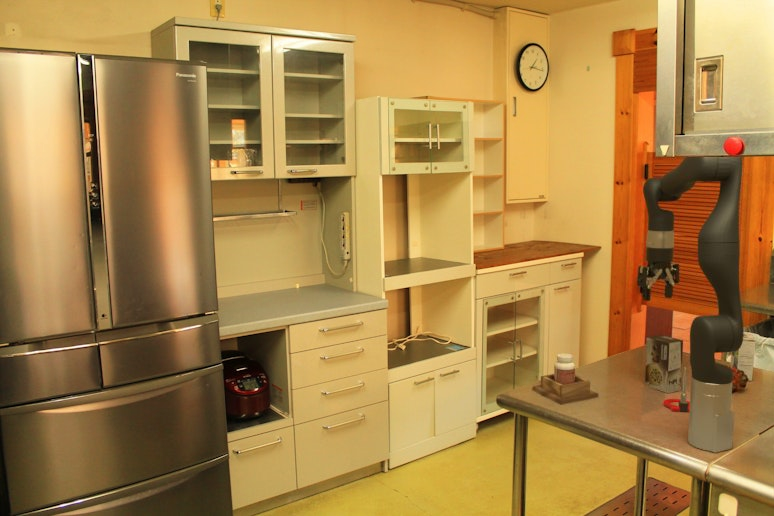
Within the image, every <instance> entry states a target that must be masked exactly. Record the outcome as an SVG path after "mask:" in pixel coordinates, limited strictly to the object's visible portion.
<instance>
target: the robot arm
mask: <svg viewBox="0 0 774 516" xmlns="http://www.w3.org/2000/svg"><path fill="white" fill-rule="evenodd" d="M742 174H743V156H742V157H734V158H733V157H686V156H685V157H684V158H683V160H682V161H681V162H680V163H679V164H678V166H676V167H675V168H674V169H672V170H670V171H668V172H667V173H665V174H664V175H663V176H661V177H651V178H647V180H645V182H644V183H643V185H642V193H643V197H644V202H645V204H646V209H647V216H648V217H647V220H648V222H647V235H646V248H645V250H646V251H645V261H646V262H647V264H646V266H643V265H639V266H638V269H637V280H636V281H637V282H636V286H638V287H641V288H642V297H641V298H642V300H643V301H645V302H650V301H651V296H652V295H651V294H652V293H651V291H652V289H651V287H652V286H653V284H655V283H656V282H657V281H660V280H662V281H663V282H664V284H665V285H664V298H665V299H666V298H667V299H672V297H673V295H674V286H675V285H676V284H679V283H680V264H679V263H677V262H676V263H675V262H673V261H674V248H675V234H674V232H675V230H674V229H675V214H674V211H672V210H669V209H663V208H661V207H660V206H659V203H666V202H667V203H668V202H669V203H671V202H677V201H679V200H680V199H681V197H682V195H683V194H684V193H686V192H688V191H690V190H691V189H692V188H694V186H695V185H696V183H697V182H702V183H718V182H719V183H720V184H719V193H718V197H717V201H716V204H715V206H714V207H713V209H712V210H711V212H710V214H709V216H708V217H707V219H706V220H705V221H704V223H703V224H702V226H701V228H700V230H699V232H698V235H697V262H698V263H697V264H698V265H699V268H700V270H701V271H702V273H703V276H705V278H706V279H707V281H708V282H709V284H710V286H711V287H712V288H713V290H714V293H715V296H716V299H717V305H718V306H717V307H718V314H717V315H716V314H712V315H710V314H709V315H699V316H696V317H695V318H694V319H693V320H692V322H691V324H690V328H689V329H690V330H689V364H690V369H691V380H690V381H691V382H690V395H689V396H690V397H689V402H690V412H688V415H689V416H688V435H687V442H688V443H689V444H690V445H691V446H692V447H694V448H697V449H700V450H704V451H708V452H713V453H720V452H723V451H727V450H728V451H729V450H731V449H733V440H734V439H733V438H734V425H735V424H734V422H735V412H734V411H732V398H733V397H732V393H733V391H732V382H733V371H732V370H731V369H730V368H729V367H730V366H728V365H726V364H725V365H726V366H725V365H724V364H722V363H719V362H716V357H715V354H716V353H717V354H718V353H719V354H720V353H731V352H734V351H737V350H738V349H740V347H741V345H742V342H743V333H744V321H743V320H744V319H743V311H742V303H741V291H740V290H741V289H740V286H741V285H740V255H741V251H740V247H741V246H740V243H741V241H740V199H741V198H740V197H741V188H742V187H741V185H742V176H743V175H742ZM727 366H728V367H727Z"/></svg>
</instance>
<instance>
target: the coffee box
mask: <svg viewBox="0 0 774 516" xmlns="http://www.w3.org/2000/svg"><path fill="white" fill-rule="evenodd" d="M683 350H684V340H683V339H680V338H675V337H671V336H667V335H664V334H655V335H652V336H646V347H645V351H646V352H645V377H644V378H645V379H644V380H645V381H644V385H645V386H646V387H649V388H652V389H654V390H658V391H660V392H663V393H666V394H671V393H675V392H681V391H682V375H683V354H684V352H683Z"/></svg>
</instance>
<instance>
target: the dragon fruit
mask: <svg viewBox="0 0 774 516" xmlns="http://www.w3.org/2000/svg"><path fill="white" fill-rule="evenodd" d="M725 366H727V367H729V368H730V369H731V370H732V371H733V382H732V392H737V391H738V389H745V388H746V387H747V384H748V382H749V381H748V380H749V379H748V377H747V375H746V374H745V373H744V371H742V370H739V369H738V368H736V367H735V366H733V367H732V368H731V367H730V366H728V365H726V364H725Z"/></svg>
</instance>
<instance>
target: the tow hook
mask: <svg viewBox="0 0 774 516" xmlns="http://www.w3.org/2000/svg"><path fill="white" fill-rule="evenodd" d="M687 377H688V375H687V367H686V366H684V367H682V377H681V393H680V398H667V399H664V400H663V401H662V402H663V406H664V407H666V408H669V409H670V412H679V411H680V413H683V412H684V413H689V412H690V400H688V394H687V381H688V378H687ZM673 402H678V403H677V404H678V405H676V404H673Z"/></svg>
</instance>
